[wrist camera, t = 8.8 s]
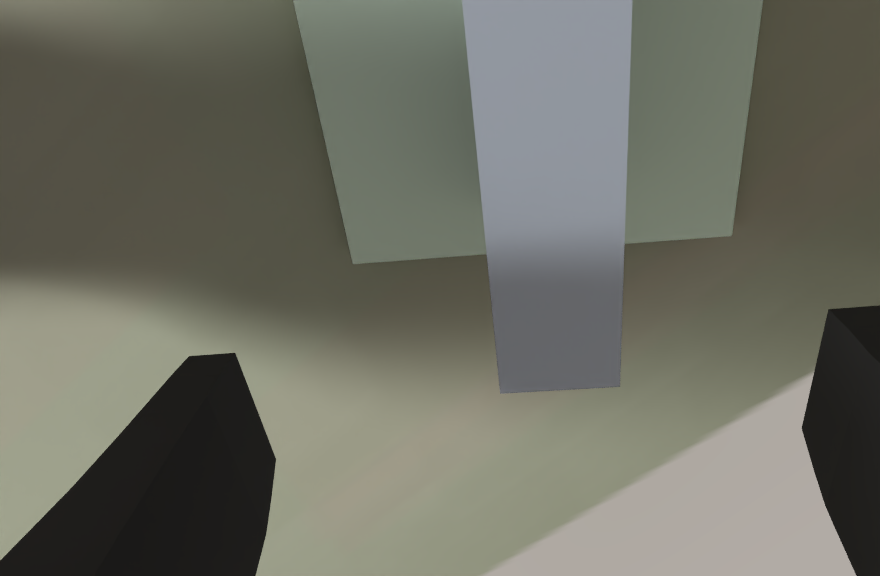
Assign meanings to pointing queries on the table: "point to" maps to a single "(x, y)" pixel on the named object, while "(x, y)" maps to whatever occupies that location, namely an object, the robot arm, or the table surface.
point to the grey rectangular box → (553, 183)
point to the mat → (453, 135)
